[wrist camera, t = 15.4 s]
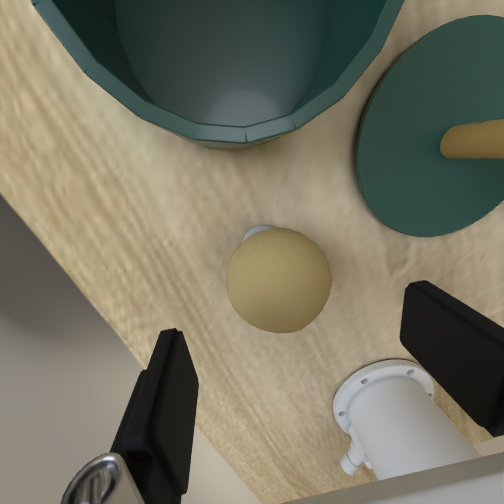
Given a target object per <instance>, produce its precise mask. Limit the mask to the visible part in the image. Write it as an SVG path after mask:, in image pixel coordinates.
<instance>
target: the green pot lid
mask: <svg viewBox="0 0 504 504" xmlns="http://www.w3.org/2000/svg"><path fill="white" fill-rule="evenodd" d="M355 163H356V175H357V180H358V185H359V188H360V191H361V194H362V196H363V198H364V200H365V202H366V204H367V206H368V207H369V209H370V210H371V212H372V213H373V214H374V215H375V216H376V217H377V218H378V219H379V220H380V221H381V222H382V223H384V224H385V225H386V226H388V227H390V228H392V229H394V230H396V231H398V232H400V233H404V234H407V235H411V236H418V237H432V236H440V235H444V234H448V233H452V232H455V231H457V230H460V229H463V228H465V227H467V226H469V225H471V224H473V223H474V222H476V221H478V220H479V219H481V218H482V217H484V216H485V215H486V214H488V213H489V212H490V211H492V210H493V209H494V208H495V207H496V206H498V205H499V204H500V203H501V202H502V201H503V200H504V18H503V17H500V16H492V15H476V16H469V17H465V18H460V19H457V20H454V21H452V22H449V23H447V24H444V25H442V26H440V27H438V28H437V29H435V30H433V31H431V32H430V33H428V34H426V35H425V36H423V37H422V38H421V39H419V40H418V41H417V42H415V43H414V44H413V45H411V46H410V47H409V48H408V49H407V50H406V51H405V52H404V53H403V54H402V55H401V56H400V57H399V58H398V59H397V60H396V61H395V62H394V63H393V65H392V66H391V67H390V68H389V69H388V70H387V72H386V73H385V75H384V76H383V78H382V79H381V81H380V82H379V84H378V85H377V87H376V89H375V91H374V92H373V94H372V96H371V98H370V100H369V102H368V105H367V107H366V110H365V112H364V114H363V118H362V121H361V124H360V128H359V132H358V137H357V143H356V155H355Z"/></svg>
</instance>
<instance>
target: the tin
mask: <svg viewBox="0 0 504 504" xmlns="http://www.w3.org/2000/svg"><path fill="white" fill-rule="evenodd" d="M31 2H32V4H33V6H34V7H35V9H36V10H37V12H38V13H39V14H40V16H41V17H42V18H43V20H44V21H45V22H46V24H47V25H48V26H49V27H50V29H51V30H52V31H53V33H54V34H55V35H56V37H57V38H58V39H59V41H60V42H61V43H62V45H63V46H64V47H65V48H66V50H67V51H68V52H69V54H70V55H71V56H72V58H73V59H74V60H75V62H76V63H77V64H78V66H79V67H80V68H81V69H82V71H83V72H84V73H85V74H86V75H87V76H88V77H89V78H90V79H92V80H93V81H94V82H95V83H97V84H98V85H99V86H100V87H102V88H103V89H104V90H105V91H107V92H108V93H109V94H110V95H112V96H113V97H114V98H115V99H117V100H118V101H119V102H120V103H122V104H123V105H124V106H125V107H127V108H128V109H129V110H130V111H132V112H133V113H134V114H135V115H137V116H138V117H140V118H141V119H143V120H145V121H147V122H149V123H152V124H154V125H156V126H158V127H160V128H162V129H164V130H166V131H168V132H171V133H173V134H175V135H177V136H179V137H182V138H184V139H186V140H189V141H191V142H194V143H196V144H199V145H201V146H203V147H206V148H213V149H228V150H241V149H245V148H248V147H252V146H255V145H259V144H262V143H266V142H269V141H271V140H273V139H276V138H278V137H281V136H283V135H286V134H288V133H290V132H293V131H295V130H297V129H299V128H300V127H302V126H303V125H305V124H306V123H308V122H309V121H311V120H312V119H313V118H315V117H316V116H318V115H319V114H321V113H322V112H324V111H325V110H327V109H328V108H329V107H331V106H332V105H334V104H335V103H337V102H338V101H340V100H341V98H343V97H344V96H345V95H346V93H347V92H348V91H349V90H350V88H351V87H352V86H353V85H354V83H355V82H356V81H357V80H358V79H359V77H360V76H361V75H362V74H363V72H364V71H365V70H366V69H367V67H368V66H369V65H370V64H371V62H372V61H373V60H374V59H375V57H376V56H377V55H378V54H379V53H380V51H381V49H382V48H383V46H384V44H385V41H386V39H387V37H388V35H389V33H390V31H391V28H392V26H393V24H394V22H395V20H396V18H397V15H398V13H399V11H400V9H401V7H402V5H403V2H404V0H31Z"/></svg>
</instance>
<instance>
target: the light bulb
mask: <svg viewBox="0 0 504 504" xmlns="http://www.w3.org/2000/svg"><path fill="white" fill-rule="evenodd" d="M226 285H227V291H228V296H229V299H230V301H231V304H232V306H233V308H234V309H235V310H236V312H237V313H238V314H239V316H240V317H241V318H243V319H244V320H245V321H246V322H248V323H249V324H251V325H253V326H255V327H256V328H259V329H262V330H265V331H269V332H274V333H291V332H295V331H298V330H301V329H303V328H304V327H306V326H307V325H308V324H310V323H311V322H312V321H313V320H314V319H315V318H316V317H317V316H318V315H319V313H320V312H321V310H322V309H323V307H324V305H325V303H326V301H327V299H328V297H329V294H330V291H331V285H332V276H331V271H330V266H329V263H328V261H327V259H326V257H325V255H324V253H323V252H322V251H321V250H320V248H319V247H318V246H317V245H316V243H314V242H313V241H312V240H310V239H309V238H308V237H307V236H305V235H303V234H301V233H299V232H297V231H294V230H290V229H285V228H274V227H272V226H268V225H260V226H256V227H254V228H252V229H251V230H249V231H248V232H247V233H246V235H245V236H244V239H243V242H242V243H241V244H240V245H239V247H238V248H237V249H236V250H235V252H234V254H233V255H232V257H231V259H230V262H229V265H228V269H227V276H226Z"/></svg>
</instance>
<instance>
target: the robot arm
mask: <svg viewBox="0 0 504 504" xmlns="http://www.w3.org/2000/svg"><path fill="white" fill-rule="evenodd" d="M400 341H401V343H402V345H403V346H404V347H405V348H406V349H407V350H408V352H409V353H410V354H411V355H412V356H413V357H414V358H415V359H416V360H417V361H418V362H419V363H420V364H421V365H422V366H423V367H424V369H425V370H426V371H427V372H428V373H429V374H430V375H431V376H432V377H433V378H434V379H435V380H436V381H437V382H438V383H439V384H440V386H441V387H442V388H443V389H444V390H445V391H446V392H447V393H448V394H449V395H450V396H451V397H452V398H453V399H454V400H455V401H456V403H457V404H458V405H459V406H460V407H461V408H462V409H463V410H464V411H465V412H466V413H467V414H468V415H469V416H470V417H471V418H472V420H473V421H474V422H475V423H477V424H478V425H479V426H481V427H484V428H485V429H486V430H487V431H488V432H489V433H490V434H491V435H492V436H493V437H498V436H502V435H504V328H503V327H501V326H500V325H498V324H497V323H495V322H493V321H492V320H490V319H488V318H487V317H485V316H484V315H482V314H480V313H479V312H477V311H475V310H474V309H472V308H471V307H469V306H467V305H466V304H464V303H462V302H461V301H459V300H458V299H456V298H454V297H453V296H451V295H450V294H448V293H446V292H445V291H443V290H441V289H440V288H438V287H437V286H435V285H433V284H432V283H430V282H428V281H426V280H422V281H417V282H412V283H409V285H408V287H406V289H405V294H404V303H403V312H402V320H401V329H400ZM424 369H423V368H422V367H421V366H419V365H417V364H416V363H413V362H410V361H407V360H399V359H396V360H385V361H380V362H376V363H373V364H371V365H368V366H366V367H364V368H362V369H360V370H358V371H357V372H355V373H354V374H353V375H351V376H350V377H349V378H348V379H347V380H346V381H345V382H344V383H343V384H342V385H341V387H340V388H339V389H338V391H337V393H336V395H335V397H334V401H333V413H334V417H335V419H336V421H337V423H338V425H339V426H340V428H341V429H342V430H343V431H345V432H346V433H348V434H350V436H351V438H352V440H351V441H350V449H348V450H347V451H346V453H345V454H344V455H343V457H342V458H341V459H340V465H341V467H342V469H343V470H344V472H345V473H347V474H348V475H351V476H352V475H354V474H355V472H356V471H357V470H358V469H359V467H360V466H361V463H362V462H364V464H365V465H366V466H367V467H368V468H369V469H373V470H374V472H375V475H376V477H377V479H378V481H375V482H370V483H366V484H362V485H357V486H353V487H349V488H344V489H340V490H336V491H332V492H327V493H323V494H319V495H315V496H311V497H306V498H302V499H298V500H294V501H289V502H285V503H281V504H504V452H503V453H498V454H494V455H489V456H485V457H481V455H480V454H479V453H478V452H477V451H476V450H475V448H473V446H472V445H471V444H470V443H469V441H468V440H467V439H466V438H465V437H464V436H463V434H462V433H461V432H460V431H459V430H458V429H457V427H456V426H455V425H454V424H453V423H452V422H451V420H450V419H449V418H448V417H447V416H446V415H445V413H444V412H443V411H442V410H441V409H440V408H439V406H438V405H437V404H436V403H435V402H434V401H433V396H434V384H433V381H432V379H431V377H430V376H429V374H428V373H427V372H426V371H425V370H424ZM198 389H199V383H198V377H197V374H196V371H195V368H194V365H193V362H192V359H191V356H190V353H189V350H188V347H187V344H186V341H185V338H184V335H183V332H182V331H178V330H177V329H176V328H173V329H168V330H163V331H161V332H160V334H159V337H158V340H157V342H156V345H155V348H154V351H153V354H152V356H151V359H150V362H149V365H148V368H147V369H146V370H143V371H142V372H141V373H140V375H139V377H138V380H137V382H136V385H135V387H134V390H133V392H132V395H131V398H130V400H129V403H128V406H127V408H126V411H125V413H124V416H123V418H122V421H121V424H120V426H119V429H118V432H117V434H116V437H115V439H114V442H113V445H112V447H111V450H110V452H109V453H105V454H102V455H100V456H98V457H96V458H94V459H93V460H91V461H90V462H89V463H87V464H86V465H85V466H84V467H83V468H82V469H81V470H80V471H79V472H78V473H77V474H76V476H75V477H74V478H73V479H72V481H71V482H70V483H69V485H68V487H67V489H66V491H65V493H64V495H63V497H62V501H61V504H181V496H182V494H185V493H186V492H187V489H188V481H189V472H190V463H191V453H192V444H193V435H194V426H195V416H196V407H197V398H198Z"/></svg>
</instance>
